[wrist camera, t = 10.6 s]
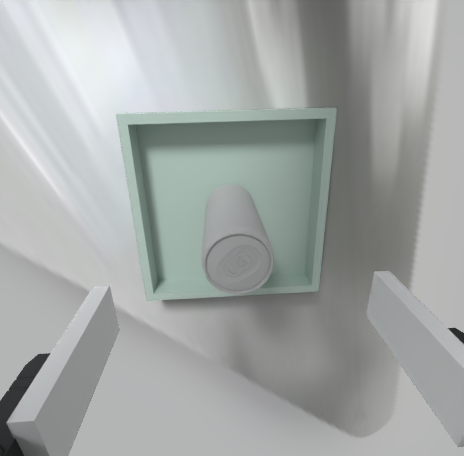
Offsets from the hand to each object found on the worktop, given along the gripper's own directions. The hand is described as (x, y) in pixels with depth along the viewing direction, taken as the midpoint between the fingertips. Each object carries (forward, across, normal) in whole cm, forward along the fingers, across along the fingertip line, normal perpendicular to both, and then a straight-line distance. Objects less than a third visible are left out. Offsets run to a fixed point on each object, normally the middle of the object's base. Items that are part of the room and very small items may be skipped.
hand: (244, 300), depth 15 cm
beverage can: (+16, 0, -1) cm, 16 cm away
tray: (+17, 0, -1) cm, 17 cm away
